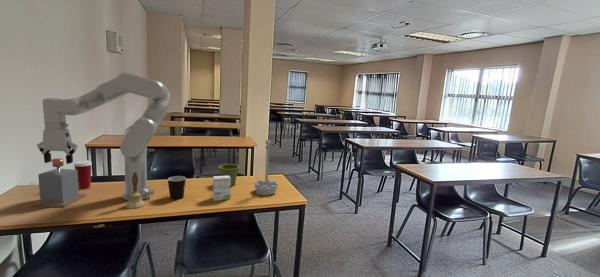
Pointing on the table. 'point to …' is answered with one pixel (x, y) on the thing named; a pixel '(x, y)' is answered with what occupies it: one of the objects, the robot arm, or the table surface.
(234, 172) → the plant pot
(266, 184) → the flag stand
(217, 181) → the ink box
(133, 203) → the hand bell
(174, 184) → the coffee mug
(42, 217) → the table surface
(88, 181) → the paper cup
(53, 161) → the plunger
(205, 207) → the table surface
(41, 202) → the block
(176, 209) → the table surface
